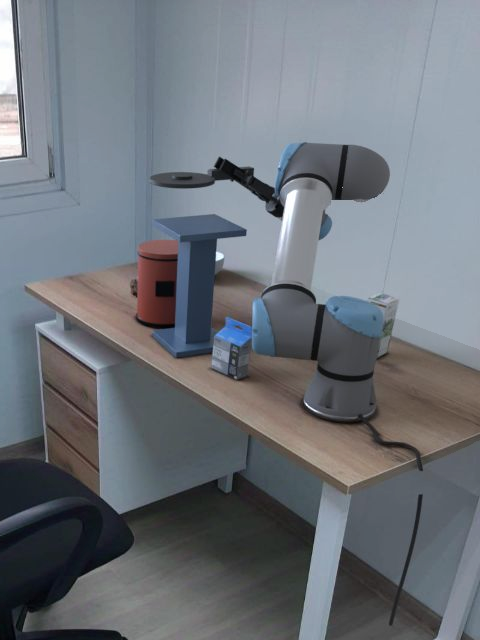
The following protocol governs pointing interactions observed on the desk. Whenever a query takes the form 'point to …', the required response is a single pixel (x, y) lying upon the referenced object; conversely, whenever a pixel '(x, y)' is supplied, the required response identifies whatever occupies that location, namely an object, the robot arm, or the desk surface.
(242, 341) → the label tape box
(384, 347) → the syrup box
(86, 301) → the desk surface
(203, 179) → the lid
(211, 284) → the stand
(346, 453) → the desk surface
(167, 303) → the red banded canister
